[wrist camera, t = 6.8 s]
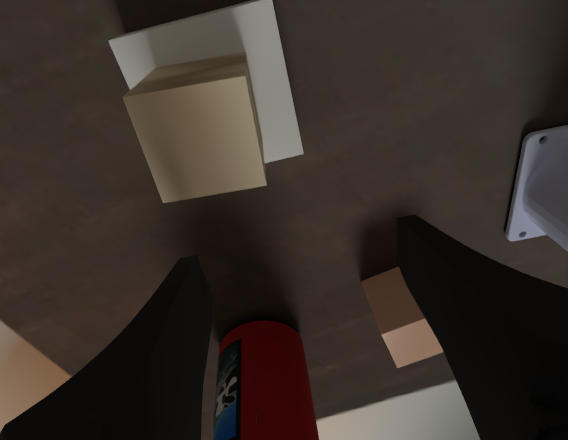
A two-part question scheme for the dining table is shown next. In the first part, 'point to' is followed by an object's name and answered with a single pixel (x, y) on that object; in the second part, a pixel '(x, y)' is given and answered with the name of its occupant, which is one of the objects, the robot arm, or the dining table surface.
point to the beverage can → (263, 385)
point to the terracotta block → (400, 318)
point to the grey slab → (219, 42)
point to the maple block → (199, 127)
